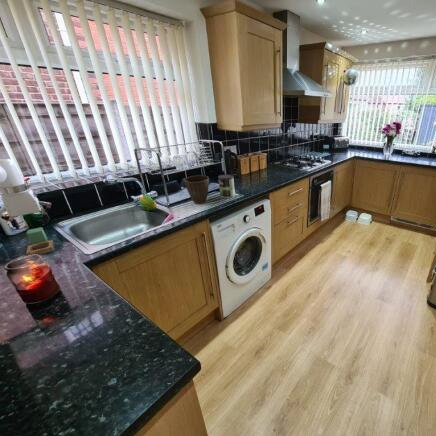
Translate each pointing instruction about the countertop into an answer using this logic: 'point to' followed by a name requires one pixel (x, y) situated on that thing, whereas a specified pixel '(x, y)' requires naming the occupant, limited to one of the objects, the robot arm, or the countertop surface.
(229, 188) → the coffee can
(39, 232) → the green pad
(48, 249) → the base pad
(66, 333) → the countertop surface
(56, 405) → the countertop surface
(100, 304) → the countertop surface
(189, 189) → the flower pot
